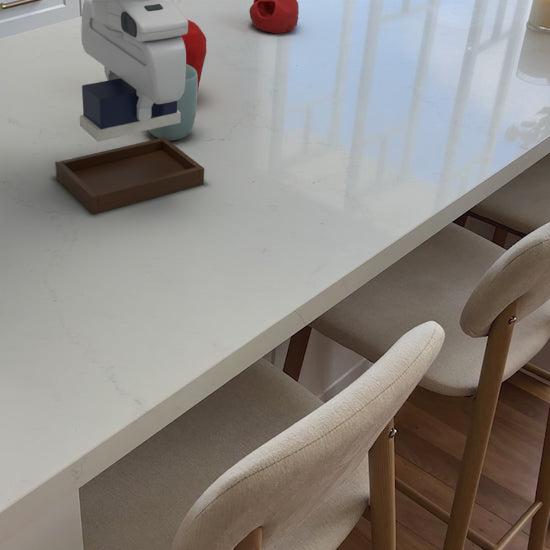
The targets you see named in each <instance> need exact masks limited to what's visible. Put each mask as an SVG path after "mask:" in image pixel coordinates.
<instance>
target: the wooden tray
mask: <svg viewBox="0 0 550 550" xmlns="http://www.w3.org/2000/svg"><path fill="white" fill-rule="evenodd" d="M55 175H56V176H55V177H56V180H57V181H58V182H59V183H60V184H62V186H63V187H64V188H65V189H67V190H68V192H70V194H71V195H73V196H74V197H75V198H76V199H77V200H78V201H79V202H80V203H81V204H82V205H83V206H84V207H85V208H86V209H87V210H88V211H89V212H90V213H91V214H92V215H95V214H99V213H102V212H107V211H110V210H114V209H117V208H121V207H125V206H129V205H133V204H136V203H140V202H144V201H147V200H150V199H154V198H159V197H162V196H165V195H166V196H167V195H169V194H170V195H171V194H174V193H177V192H180V191H185V190H187V189H191V188H194V187H195V188H196V187H199V186H203V185H204V183H205V167H204V166H203V165H201V164H200V163H198V162H197V161H196V160H194V159H193V158H192V157H191V156H189V155H188V154H186V153H185V152H184V151H183V150H181V149H180V148H179V147H177V146H176V145H174V143H172V142H171V141H168V140H167V139H166V138H164V137H163V138H155V139H151V140H146V141H142V142H137V143H133V144H129V145H123V146H120V147H116V148H111V149H106V150H103V151H99V152H94V153H90V154H86V155H81V156H77V157H72V158H68V159H64V160H60V161H55Z"/></svg>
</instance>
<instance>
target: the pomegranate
mask: <svg viewBox="0 0 550 550" xmlns="http://www.w3.org/2000/svg"><path fill="white" fill-rule="evenodd" d="M299 13H300V11H299V2H298V0H253V3H252V5H251V6H250V7H249V13H248V14H249V18H250V21H251V23H252V25H254V26H255V27H256V28H257V29H259V30H260V31H262V32H265V33H272V34H284V33H287V32H291V31H292V30H294V29H295V28H296V27H297V25H298V21H299Z"/></svg>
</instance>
